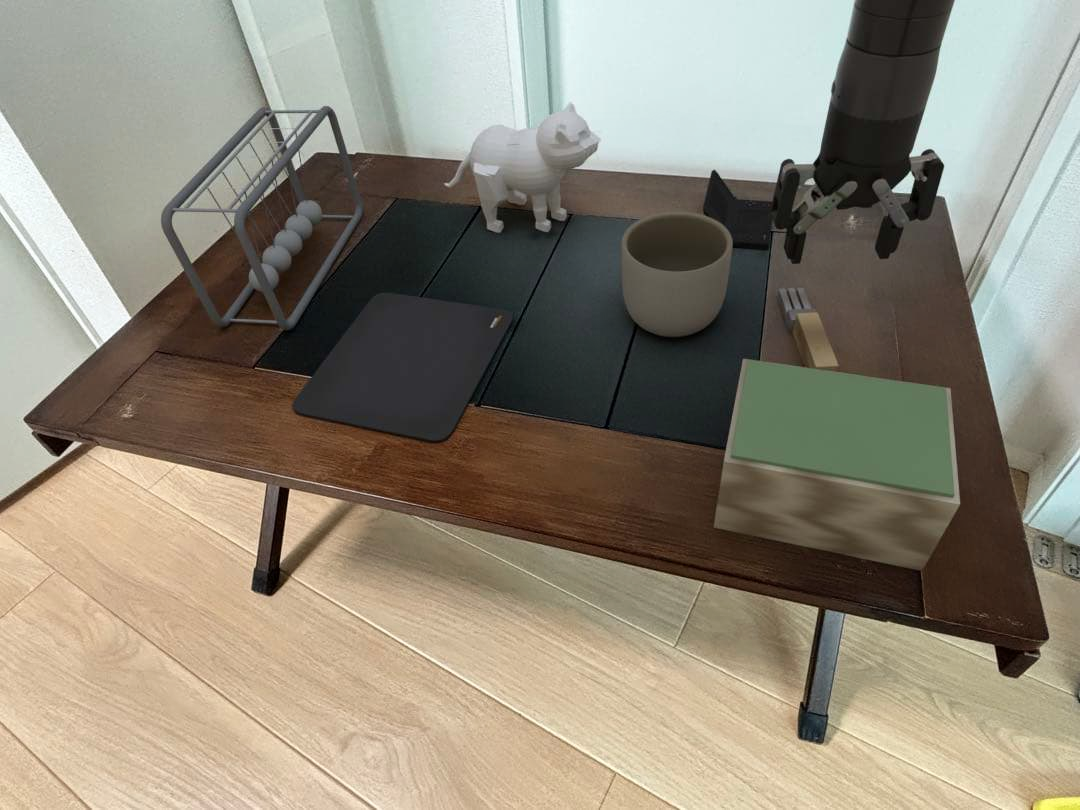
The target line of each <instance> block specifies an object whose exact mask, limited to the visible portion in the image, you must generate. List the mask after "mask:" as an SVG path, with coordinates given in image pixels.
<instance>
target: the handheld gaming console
mask: <svg viewBox="0 0 1080 810" xmlns="http://www.w3.org/2000/svg"><path fill="white" fill-rule="evenodd" d="M708 180H709V181H708V185H707V188H706V194H705V198H704V201H703V206H702V212H703V215H705V216H707V217H710V218H712V219H714V220H716V221H718V222H719V223H721V224H722V225H723V226H725V227H726V228H727V230H728V231H729V232H730V234H731V236H732V240H733V247H732V248H744V249H755V250H769V247H770V243H771V235H772V226H773V219H772V216H771V214H770V209H771V205H772V201H773V200H756V199H740V198H738V197H737V196H734V194H733V193H732V191H731V190H730V188H729V187H728V186H727V184H726V183H725V181H724V180H723V179H722V177H721V175H720V174H719V172H718V171H717V170H715V169H712V170H711V173H710V177H709V179H708Z"/></svg>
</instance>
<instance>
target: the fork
mask: <svg viewBox="0 0 1080 810" xmlns="http://www.w3.org/2000/svg"><path fill="white" fill-rule="evenodd" d="M776 297H777V300H778V303H779V305H780V308H781V311H782V315H783V317H784V320H785V322H784V323H785V325H786V328H787V331H788V333H789V334H792V336H793V339H794V341H795V344H796V347H797V350H798V353H799V357H800V359H801V361H802V364H803V367H806V368H813V369H819V370H826V371H833V372H838V371H839V362H838V361H837V360H838V359H837V358H836V355H835V353H834V350H833V348H832V346H831V342H830V339H829V338H828V335H827V333H826V330H825V328H824V325H823V323H822V319H821V317H820V315H819V312H818V311H817V308H815V307H811V305H810V301H809V299H808V296H807V294H806V292H805V289H804V287H797V288H795V287H790V288H789V287H787V290H786V288H778V291H777V296H776Z"/></svg>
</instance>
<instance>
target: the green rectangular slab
mask: <svg viewBox="0 0 1080 810" xmlns="http://www.w3.org/2000/svg"><path fill="white" fill-rule="evenodd" d="M755 360H756V359H750V360H748V364H747V370H746V375H745V381H744V386H743V392H742V397H741V403H740V408H739V414H738V420H737V425H736V431H735V436H734V442H733V447H732V453H731V458H736V459H742V460H747V461H753V462H758V463H764V464H769V465H775V466H780V467H786V468H791V469H797V470H803V471H808V472H814V473H819V474H825V475H830V476H836V477H841V478H847V479H852V480H858V481H863V482H869V483H874V484H880V485H885V486H891V487H896V488H902V489H907V490H913V491H918V492H924V493H929V494H935V495H940V496H946V497H951V498H953V497H954V495H955V494H954V482H953V469H952V457H951V444H950V431H949V419H948V406H947V394H946V388H947V387H945V388H942V387H943V386H938V387H935V386H936V385H931V386H928V385H929V384H924V385H921V384H922V383H917V384H914V383H915V382H910V383H908V381H903V382H901V381H902V380H896V381H894V379H889V380H887V379H888V378H882V379H880V378H881V377H875V378H873V377H874V376H868V377H866V376H867V375H861V376H859V375H860V374H854V375H852V374H853V373H847V374H845V373H846V372H840V373H838V372H839V371H837V372H831V371H824V370H817V369H810V368H803V367H804V366H799V367H796V366H797V365H792V366H789V365H790V364H785V365H782V364H783V363H778V364H776V363H777V362H771V363H769V362H770V361H764V362H762V360H757V361H755Z"/></svg>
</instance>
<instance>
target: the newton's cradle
mask: <svg viewBox="0 0 1080 810" xmlns="http://www.w3.org/2000/svg"><path fill="white" fill-rule="evenodd" d="M276 114H306V115H305V116H304V118H303V119H302V120H301V121H300V122H299V123H298V125H297V126H296V127H294V128H293V127H289V128H287V127H285V128H284V127H280V124H279V121H278V118H277V116H276ZM312 114H315V115H314V116H313V117H312V118H311V120H310V121H309V122H308V123H307V124H306V125H305V127H304V128H303V129H302V130H301V131H300V133H299V134H297V132H298V131H299V130H300V129H301V127H302V126H303V125H304V124H305V123H306V121H308V119H309V118H310V117H311V115H312ZM265 117H266V118H265ZM326 117H327V118H328V120H329V125H330V128H331V131H332V133H333V137H334V140H335V143H336V147H337V150H338V154H339V157H340V160H341V163H342V166H343V170H344V173H345V176H346V180H347V182H348V186H349V189H350V192H351V195H352V199H353V202H354V213H353V215H338V214H337V215H336V214H335V215H334V214H333V215H332V214H323V209H322V208H321V206H320V205H319V203H317V202H316V201H314V200H309V199H308V195H307V187H306V183H305V176H304V170H303V165H302V159H301V151H300V149H301V148H302V147H303V146H304V144H306V142H307V141H308V140H309V138H310V137H311V136H312V134H313V133H314V132H315V131H316V130H317V128H318V127H319V126H320V125H321V124H322V122H323V121H324V120H325V119H326ZM264 118H265V119H264ZM262 120H263V121H262ZM261 121H262V122H261ZM259 123H260V125H259V126H257V125H258V124H259ZM267 123H269V125H270V128H264V127H265V126H266V124H267ZM256 126H257V128H256ZM254 128H256V129H255V130H254ZM253 130H254V131H253ZM264 130H272V133H273V136H274V138H275V141H270V140H269V138H268V136H267V134H266V132H265V131H264ZM282 130H292V132H290V134H289V135H288V136H287V137H286V138H284V135H283V132H282ZM252 131H253V132H252ZM260 131H262V133H263V135H264V137H265V138H266V140H267V141H252V140H253V138H254V137H256V136H257V134H258V133H259V132H260ZM251 132H252V133H251ZM250 133H251V134H250ZM249 134H250V135H249ZM248 135H249V136H248ZM247 136H248V137H247ZM294 136H295V139H294V140H293V141H292V142H291V143H290V144H289V146H287V144H288V143H289V142H290V141H291V140H292V138H293V137H294ZM246 137H247V139H246V140H245V141H244V139H245V138H246ZM242 141H244V142H243V143H242V144H241V142H242ZM252 143H253V144H259V143H260V144H269V145H270V147H271V149H272V151H273V154H272V155H271V156H270V155H269V156H268V155H267V156H266V155H258V153H257V152H256V150H255V148H254V146H253V145H252ZM274 143H275V144H277V147H278V148H277V149H274V147H273V145H272V144H274ZM239 144H241V145H240V146H239ZM248 144H249V145H250V148H251V149H252V151H253V153H254V155H251V156H250V155H249V156H248V155H247V156H245V155H242V156H241V155H240V156H239V154H240V152H241V151H242V150H243V149H245V147H246V146H247V145H248ZM238 146H239V147H238ZM237 147H238V148H237ZM236 148H237V149H236ZM235 149H236V150H235ZM234 150H235V152H233V151H234ZM231 153H232V154H231ZM279 153H280V154H281V156H280V157H279V156H278V155H279ZM230 154H231V156H230V157H229V155H230ZM296 154H298V158H299V163H300V164H299V165H300V171H301V176H302V182H303V188H304V190H303V188H302V185H301V182H300V180H299V177H298V174H297V171H296V168H295V165H294V163H293V158H294V157H295V155H296ZM227 157H229V158H228V159H227V160H226V158H227ZM235 158H236V160H237V162H238V163H239V165H240V167H241V169H242V170H243V173H245V175H246V176H247V179H248V180H249V182H248V183H247V185H246V186H244V187H234V186H233V185H232V184H231V182H230V180H229V178H227V176H226V174H225V173H228V171H227V170H225V169H226V168H227V167H228V166H229V165H230V164H231V162H232V161H233V160H234V159H235ZM239 158H257V159H258V161H259V163H260V165H261V166H262V167H261V168H260V169H259V170H258V171H257V172H256V174H255V175H254V176H253V177H252V179H251V178H250V175H249V174H248V172H247V171H246V169H245V168H244V166H243V164H242V162H241V161H240V159H239ZM261 158H268V160H267V161H266V162H265V163H264V164H263V162H262V160H261ZM275 158H277V160H276V162H275V163H274V159H275ZM224 160H226V161H225V162H224ZM223 162H224V163H223ZM222 163H223V164H222ZM221 164H222V165H221ZM270 164H271V166H272V167H270V169H269V170H268V171H267V168H268V166H269V165H270ZM220 165H221V166H220ZM219 166H220V167H219ZM218 167H219V169H217V168H218ZM216 169H217V171H216ZM224 170H225V171H224ZM214 171H216V172H215V173H214V174H213V172H214ZM283 171H284V172H285V174H286V176H287V177H288V180H289V184H290V188H291V194H292V200H293V206H294V211H295V214H292V212H291V210H290V209H289V207H288V205H287V203H286V202H285V200H284V198H283V196H282V195H281V193H280V191H279V187H278V181H277V178H278V176H280V174H281V173H282V172H283ZM263 172H265V173H266V174H265V175H264V176H263V177H262V178H261V175H262V174H263ZM212 174H213V175H212ZM221 174H222V175H223V177H224V178H225V180H226V181H227V183H228V185H229V186H230V187H224V189H232V191H233V193H234V195H235V196H236V197H235V198H234V199H233V201H232V202H231V203H230V204H229V206H228V207H226V208H222V207H221V206H220V204H219V203H218V200H217V199H216V198H215V196H214V194H213V193H212V191H211V190H210V185H211V184H212V183H213V182H214V181H215V180H216V178H218V177H219V176H220V175H221ZM211 175H212V176H211ZM210 176H211V177H210ZM208 177H210V178H209V180H207V179H208ZM206 180H207V182H205V181H206ZM257 180H259V182H258V183H257V185H255V184H254V183H255V182H256V181H257ZM274 181H275V183H274ZM204 182H205V184H204V185H203V186H202V187H201V188H200V186H201V185H202V184H203V183H204ZM271 185H273V187H274V189H275V190H276V192H277V197H278V201H279V207H280V211H281V212H280V213H281V216H282V222H283V227H284V229H281V227H280V226H279V224H278V223H277V221H276V219H275V218H274V216H273V214H272V212H271V210H270V209H269V207H268V206H267V204H266V198H265V193H266V191H267V190H268V189H269V188H270V187H271ZM252 186H253V189H252V191H250V193H249V194H247V191H248V190H249V189H250V188H251V187H252ZM199 188H200V189H199ZM197 189H199V190H198V191H197V192H196V190H197ZM235 189H236V190H237V189H238V190H240V189H241V191H240V192H239V194H237V191H236V190H235ZM206 190H207V191H208V193H209V194H210V195H211V197H212V199H213V201H214V202H215V204H216V205H217V206H218V208H201V207H200V208H199V207H197V208H196V207H195V208H191V206H192V205H193V204H194V203H195V202H196V201H197V199H198V198H199V197H200V196H202V194H203V193H204V192H205V191H206ZM195 192H196V193H195ZM294 192H295V194H294ZM194 193H195V194H194ZM193 194H194V196H193V197H192V198H191V199H190V200H189V201H188V199H189V198H190V197H191V196H192V195H193ZM294 195H296V198H297V200H298V205H297V206H296V201H295V196H294ZM243 196H245V199H244V200H243V201H242V200H241V198H243ZM259 200H261V201H262V203H263V205H264V208H265V213H266V218H267V223H268V227H269V231H270V232H269V233H270V236H271V241H272V245H270V244H269V243H268V241H267V240H266V238H265V236H264V235H263V233H262V232H261V230H260V228H259V226H258V225H257V224H256V222H255V220H254V219H253V217H252V213H251V210H252V209H253V208H254V206H255V205H256V204H257V202H259ZM187 201H188V202H187ZM186 202H187V203H186ZM238 202H240V205H239V206H238V207H237V208H234V207H235V206H236V205H237V203H238ZM282 202H283V204H284V205H285V207H286V209H287V211H288V213H289V214H290V216H289V217H288V218H287V220H286V221H285V216H284V212H283V206H282ZM184 203H186V204H185V206H184V207H181V206H182V205H183V204H184ZM363 207H364V206H363V200H362V197H361V193H360V190H359V187H358V184H357V180H356V177H355V174H354V170H353V167H352V163H351V160H350V156H349V153H348V150H347V147H346V144H345V140H344V137H343V133H342V130H341V127H340V124H339V120H338V116H337V114H336V112H335V111H334V109H333V108H332V107H331V106H329V105H324V106H322V107H320V109H286V110H285V109H280V110H279V109H278V110H276V109H271V108H270V107H269V106H262V107H259V108H258V110H256V111H255V113H253V114H252V116H250V118H249V119H248V120H247V121H246V122H245V123H243V125H242V126H241V127H240V128H239V129H238V130H237V131H236V132H235V133H234V134H233V136H232V137H230V139H228V140H227V141H226V142H225V144H224V145H223V146H222V147H221V148H220V149H219V150H218V151H217V152H216V153H215V154H214V155H213V156H212V157H211V158H210V159H209V160H208V162H206V163H205V165H203V167H202V168H201V169H199V171H198V172H197V173H195V175H194V176H193V177H192V178H191V179H190V180H189V181H188V182H187V184H185V185H184V187H182V189H180V190H179V192H178V193H177V194H176V195H175V196H174V197H173V198H172V199H171V200H170V201H169V202H168V203H167V204H166V205H165V207H163V209H162V211H161V214H160V225H161V229H162V232H163V234H164V235H165V238H166V239H167V241H168V243H169V245H170V246H171V249H172V251H173V252H174V254H175V256H176V258H177V261H179V263H180V265H181V267H182V269H183V271H184V273H185V275H186V276H187V278H188V280H189V281H190V283H191V285H192V288H193V289H194V291H195V292H196V295H197V297H198V299H199V300H200V302H201V304H202V306H203V308H204V309H205V311H206V314H208V317H209V318H210V321H211V322H212V323H213V325H215V326H216V327H218V328H225V327H228V326H229V325H230V324H231V323H232V322H233V323H254V324H275V325H278V328H280V329H281V330H283V331H291V330H292V329H294V328H295V327H296V326H297V324H298V322H299V321H300V319H301V317H302V315H303V314H304V312H305V310H306V309H307V307H308V306H309V304H310V303H311V301H312V299H313V298H314V296H315V294H316V293H317V291H318V289H319V287H320V286H321V285H322V282H323V281H324V280H325V278H326V276H327V274H328V273H329V272H330V270H331V268H332V266H333V265H334V263H335V261H336V259H337V258H338V256H339V255H340V253H341V252H342V250H343V248H344V247H345V245H346V244H347V243H348V240H349V239H350V237H351V235H352V233H353V232H354V230H355V229H356V227H357V225H358V223H360V220H361V218H362V215H363V209H364V208H363ZM177 212H179V213H180V212H182V213H221V214H222V215H223V216H224V218H225V220H226V221H227V223H228V224H229V226H230V227H231V229H232V230H233V232H234V233H235V235H236V237H237V239H238V240H239V243H240V246H241V247H242V250H243V252H244V254H245V256H246V258H247V260H248V262H249V265H250V267H251V269H250V270H249V273H248V283H246V285H245V287H244V288H243V289H242V291H241V292H240V294H239V295H238V296H237V298H236V299H235V300H234V302H233V303H232V305H231V306H230V307H229V309H228V310H227V312H226V313H225V314H224V316H223V317H221V316H220V315H219V313H218V310H217V309H216V307H215V304H214V303H213V301H212V299H211V297H210V296H209V293H208V291H207V290H206V288H205V286H204V284H203V282H202V280H201V278H200V277H199V275H198V273H197V270H196V269H195V267H194V265H193V264H192V261H191V259H190V258H189V255H188V253H187V251H186V250H185V248H184V246H183V245H182V242H181V241H180V238H179V237H178V234H177V233H176V231H175V229H174V226H173V216H174V214H175V213H177ZM225 213H234V217H233V224H232V223H231V221H230V220H229V218H228V217H227V215H226V214H225ZM268 213H269V214H268ZM247 215H248V216H249V219H250V224H251V229H252V233H253V238H254V242H255V247H256V250H255V247H254V245H253V243H252V240H251V239H250V236H249V234H248V232H247V229H246V217H247ZM269 215H270V216H271V218H272V220H273V221H274V223H275V224H276V227H277V228H278V229H279V232H277V233H276V234H275V236H274V235H273V232H272V227H271V222H270V216H269ZM322 219H350V220H349V222H348V223H347V225H346V226H345V228H344V229H343V231H342V233H341V235H340V236H339V238H338V240H337V241H336V242H335V244H334V246H333V247H332V249H331V251H330V252H329V254H328V255H327V257H326V259H325V260H324V262H323V263H322V265H321V267H320V268H319V269H318V271H317V273H316V274H315V276H314V278H313V279H312V281H311V283H310V284H309V286H308V287H307V289H306V291H305V292H304V294H303V295H302V297H301V299H300V300H299V302H298V304H297V305H296V306H295V308H294V310H293V311H292V313H291V315H289V317H288V319H286V317H285V315H284V313H283V311H282V308H281V306H280V304H279V302H278V300H277V297H276V295H275V292H274V289H276V287H277V286H278V284H279V281H280V277H279V274H281V273H284V272H286V271H288V270H289V268H290V267H291V265H292V257H295V256H297V255H299V253H301V250H302V249H303V242H304V241H307V240H309V238H310V237H311V236H312V235H313V227H315V226H317V225H318V224H319V223H320V222H321V221H322ZM233 225H234V227H233ZM254 226H255V228H256V229H257V231H258V232H259V234H260V236H261V237H262V239H263V240H264V243H266V245H267V246H268V247H267V248H266V249H265V250H264V251H263V253H262V258H261V255H260V251H259V250H260V249H259V247H258V242H257V237H256V233H255V228H254ZM256 251H257V252H256ZM261 259H262V260H261ZM255 290H256V291H258V292H261V293H263V295H264V297H265V300H266V302H267V304H268V306H269V308H270V310H271V313H272V315H273V317H274V319H275V320H270V319H268V320H267V319H266V320H265V319H249V318H247V319H246V318H236V316H237V315H238V313H239V312H240V311H241V309H242V308H243V306H244V305H245V304H246V302H247V301H248V299H249V298H250V296H251V295H252V294H253V292H254V291H255Z"/></svg>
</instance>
